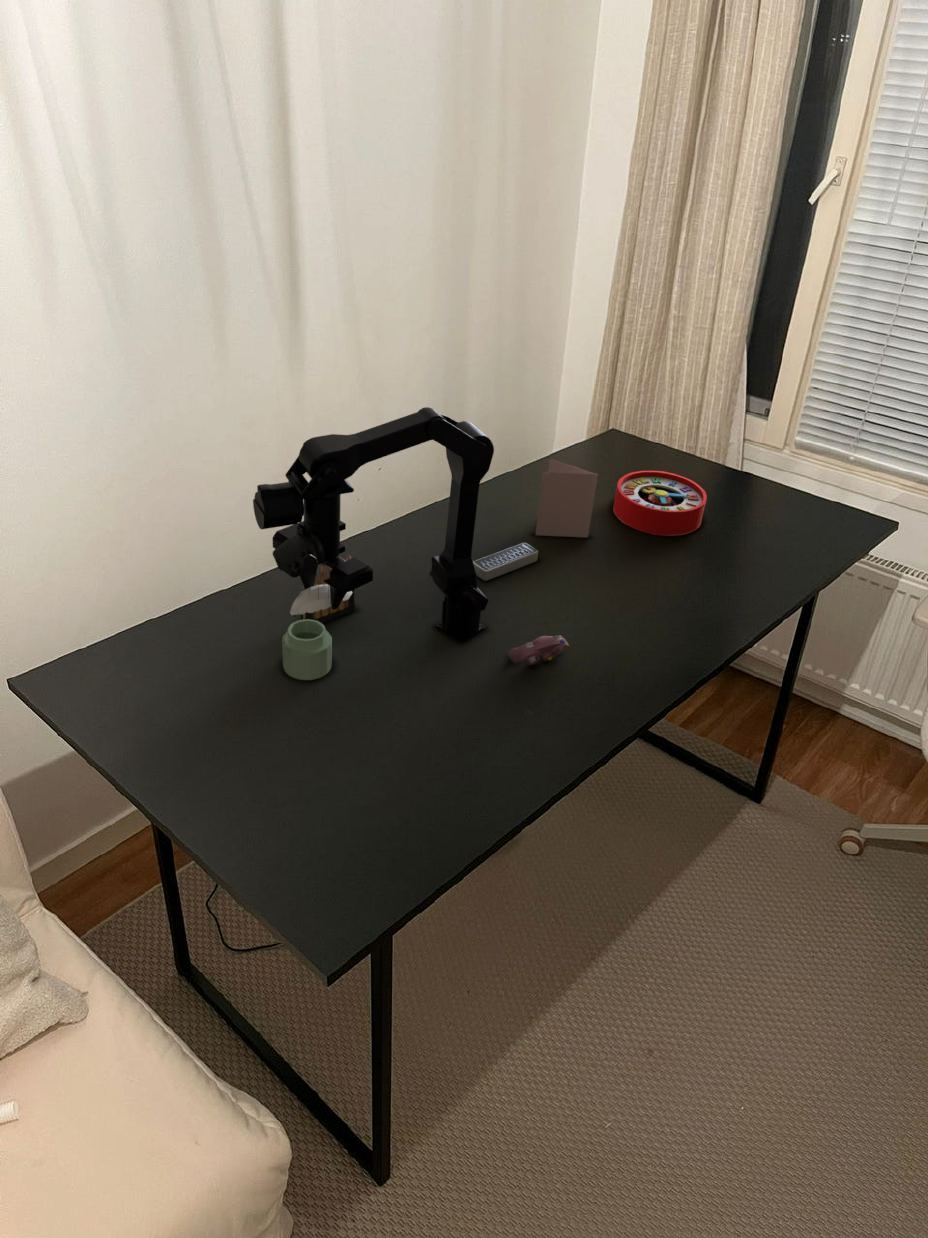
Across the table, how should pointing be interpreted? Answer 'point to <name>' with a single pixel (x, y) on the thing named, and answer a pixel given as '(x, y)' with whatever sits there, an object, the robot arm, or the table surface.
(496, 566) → the multiport hub
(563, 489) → the greeting card
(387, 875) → the table surface
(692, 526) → the toy clock
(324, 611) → the ammunition clip
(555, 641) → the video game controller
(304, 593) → the pincushion
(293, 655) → the pale green cup
